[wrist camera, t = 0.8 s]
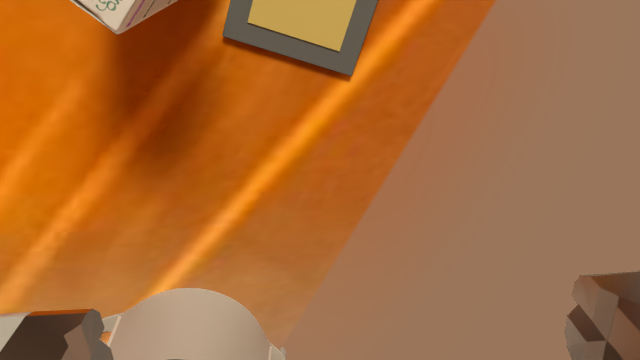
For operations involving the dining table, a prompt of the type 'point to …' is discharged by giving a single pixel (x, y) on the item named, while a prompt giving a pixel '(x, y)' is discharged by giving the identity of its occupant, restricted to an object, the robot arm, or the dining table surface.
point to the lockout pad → (304, 29)
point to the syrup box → (122, 11)
